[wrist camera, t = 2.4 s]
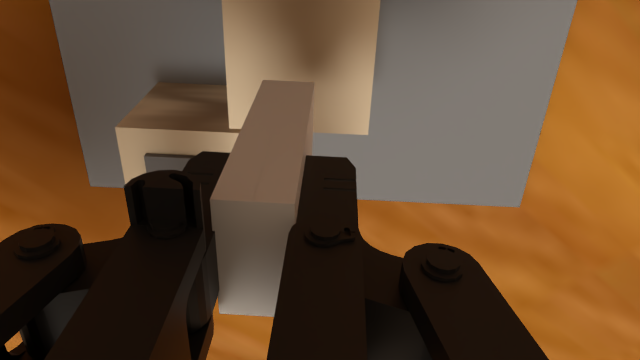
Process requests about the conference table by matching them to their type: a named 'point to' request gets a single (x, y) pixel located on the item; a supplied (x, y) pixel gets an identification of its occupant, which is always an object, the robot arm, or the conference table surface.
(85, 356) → the robot arm
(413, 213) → the conference table surface
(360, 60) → the plain block
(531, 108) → the mat
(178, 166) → the marked block
